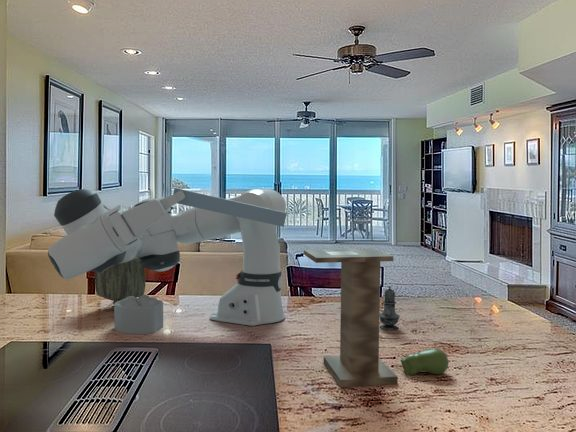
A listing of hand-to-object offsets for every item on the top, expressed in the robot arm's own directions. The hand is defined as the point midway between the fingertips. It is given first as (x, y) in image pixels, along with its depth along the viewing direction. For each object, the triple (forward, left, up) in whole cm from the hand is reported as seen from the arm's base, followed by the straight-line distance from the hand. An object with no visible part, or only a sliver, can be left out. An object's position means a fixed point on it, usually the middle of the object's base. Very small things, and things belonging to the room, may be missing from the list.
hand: (184, 193), depth 105 cm
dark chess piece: (+40, +47, -39) cm, 73 cm away
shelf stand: (+34, +9, -38) cm, 52 cm away
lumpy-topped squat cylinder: (-28, +27, -39) cm, 55 cm away
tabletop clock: (-45, +44, -39) cm, 74 cm away
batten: (+8, +4, -4) cm, 10 cm away
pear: (+49, +14, -39) cm, 64 cm away
